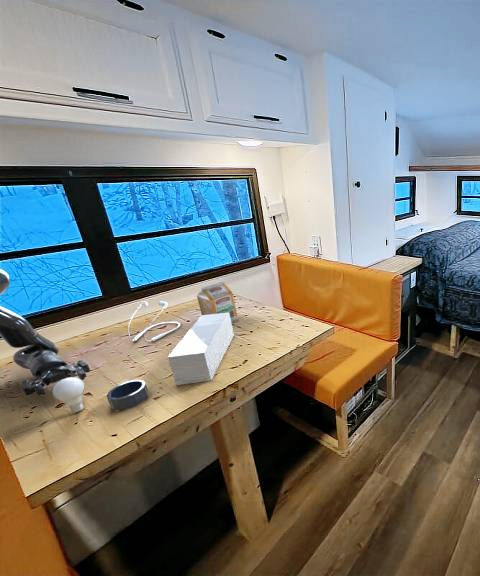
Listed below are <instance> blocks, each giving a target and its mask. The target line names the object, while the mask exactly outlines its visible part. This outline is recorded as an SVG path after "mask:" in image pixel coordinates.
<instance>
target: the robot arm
mask: <svg viewBox="0 0 480 576" xmlns="http://www.w3.org/2000/svg"><path fill="white" fill-rule="evenodd" d="M10 282H11V279H10V276H9V274H8V273H7V272H6V271H5V270H3V269H2V268H0V296H2V295H3V294H4V293H5V292H6V291H7V290H8V289H9V286H10ZM0 337H1V338H2V340H3V341H4V342H5V343H6V344H7V345H8V346H10V347H11V348H14V349H19V350H17V351H16V352H15V353H13V356H12V360H13V361H14V363H15V365H17V366H19V367H21V368H22V369H25V370H29V371H30V373H31V375H32V376H33V377H34V379H32V380H27V379H26V380H22V381H21V382H20V384H21V385H20V386H21V388H22V390H23V392H24V393H25V396H27V397H29V396H32V395H33V393H35V394H36V395H37V396H42V397H43V396H46V395H47V392H46V391H45V389H48V388H49V387H50V386H51V385H53V384H54V383H55V384H56V383H58V382H59V381H61V380H63V379H65V378H71V377H73V378H76V377H77V378H78V379H80V380H82V381H83V380H85V378H87V373H90V372H91V369H90V367H89V364H88V363H87V362H85V361H84V360H82V359H80V360H78V361H76V364H73V365H71V364H68V363H67V362H66V361H65V360H64V359H63V358H62V357H61V356H59V355H58V354H59V351H60V348H59V346H58V345H57V344H56V343H55V342H54V341H51V340H49V339H48V338H46V337H44V336H43V335H42V334H39V332H38V331H36V330H35V328H34V327H33V326H32V325H31V323H30V322H29V321H28V320H27V319H26V318H24V317H23V316H22V315H20V314H18V313H17V312H14V311H12V310H10V309H8V308H6V307H3V306H2V305H0Z"/></svg>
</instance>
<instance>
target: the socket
mask: <svg viewBox="0 0 480 576" xmlns="http://www.w3.org/2000/svg"><path fill="white" fill-rule="evenodd" d="M149 395H150V392H149V388H148V386H147V383H146V381H145V380H143V379H132V380H128V381H125V382H123V383H120V384H118V385H116V386H114V387H113V388H112V389H110V390H109V391H108V392H107V394H106V399H107V401H108V404H109V406H110V408H111V410H113V411H116V412H117V411H118V412H119V411H126V410H129V409H132V408H134V407H137V406H138V405H140V404H142V403H143V402H144V401H145V400H147V399H148V397H150V396H149Z"/></svg>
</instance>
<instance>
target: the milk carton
mask: <svg viewBox="0 0 480 576" xmlns="http://www.w3.org/2000/svg"><path fill="white" fill-rule="evenodd" d="M196 298H197V302H198V306H199V309H200V314H201V315H210V314H219V313H229V315H230V319H231V323H232V324H233V323H236V322H238V321H239V317H238V312H237V308H236V303H235V298H234V293H233V292H232V290H231V288H229V287H228V286H227V285H226V284H225V281H224V280H221V281H219V282H215V283H212V284H209V285H205V286H202V287H200V291H199V292H198V293H197V295H196Z"/></svg>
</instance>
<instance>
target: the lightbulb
mask: <svg viewBox="0 0 480 576" xmlns="http://www.w3.org/2000/svg"><path fill="white" fill-rule="evenodd" d="M84 391H85V383H84V381H83V380H81V379H80V378H79V377H74V378H73V377H71V378H65V379H62V380H60V381H58V382H56V383H55V384H54V385H53V387H52V396H53V397H54V398H55V399H56V400H58V401H60V402H63V403H65V404H66V405H67V406H68V407H69V409H70V411H71V412H72V413H79V412H82V410H83V409H84V408H85V405H84V403H83V401H82V400H83V393H84Z"/></svg>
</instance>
